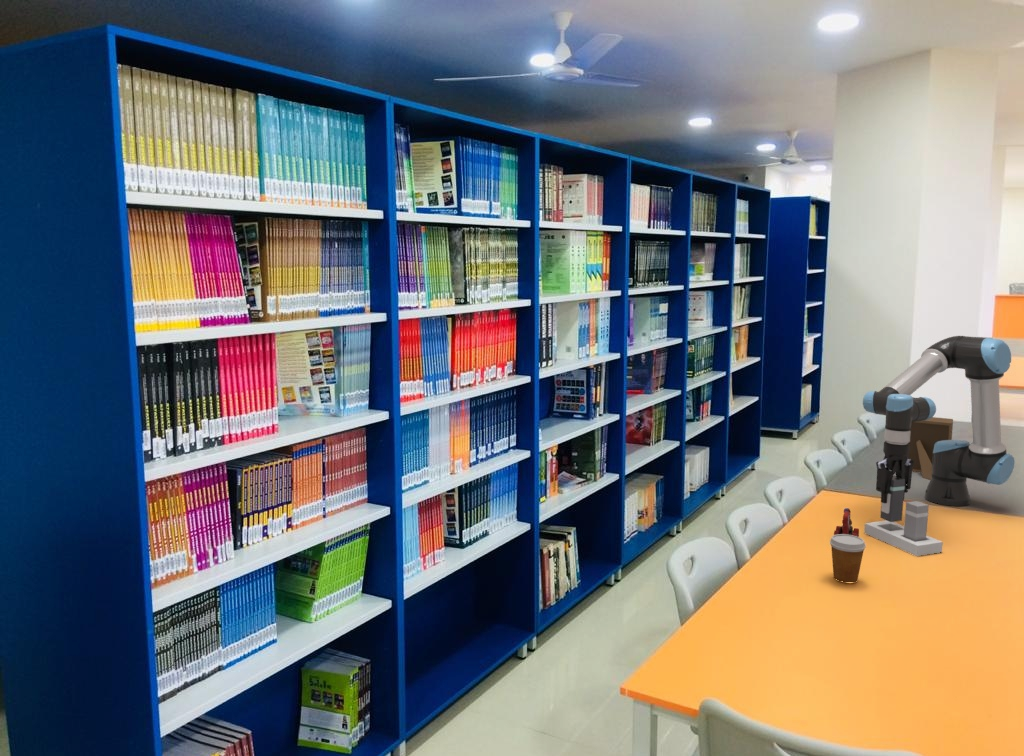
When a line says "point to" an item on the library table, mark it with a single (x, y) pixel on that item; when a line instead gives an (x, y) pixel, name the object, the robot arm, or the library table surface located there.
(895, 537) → the white slotted plate
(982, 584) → the library table surface
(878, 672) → the library table surface
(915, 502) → the grey square plug
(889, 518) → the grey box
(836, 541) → the disposable coffee cup
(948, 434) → the photo frame
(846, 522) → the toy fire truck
